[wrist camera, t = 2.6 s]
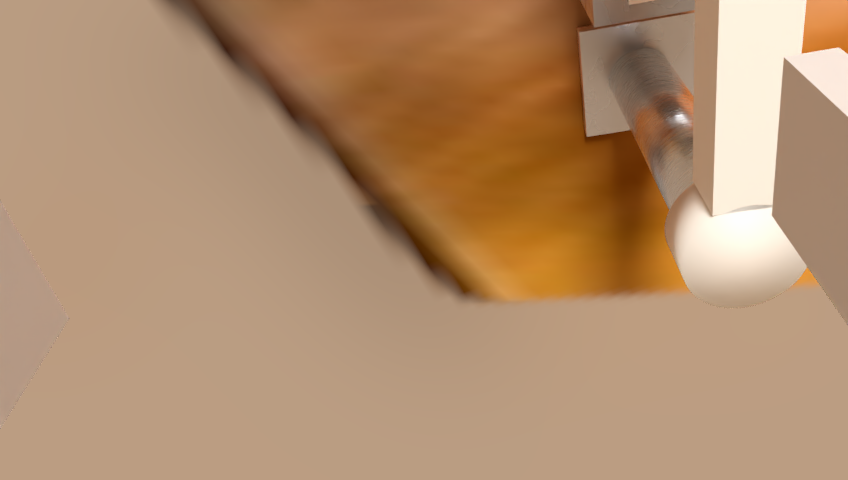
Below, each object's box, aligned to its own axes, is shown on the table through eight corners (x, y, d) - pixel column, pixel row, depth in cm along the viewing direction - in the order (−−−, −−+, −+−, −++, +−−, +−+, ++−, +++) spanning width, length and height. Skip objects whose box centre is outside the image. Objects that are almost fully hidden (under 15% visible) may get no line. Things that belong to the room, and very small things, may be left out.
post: (576, 27, 39) (638, 159, 27) (694, 6, 39) (811, 132, 27) (584, 130, 43) (642, 288, 31) (693, 113, 42) (797, 268, 30)
